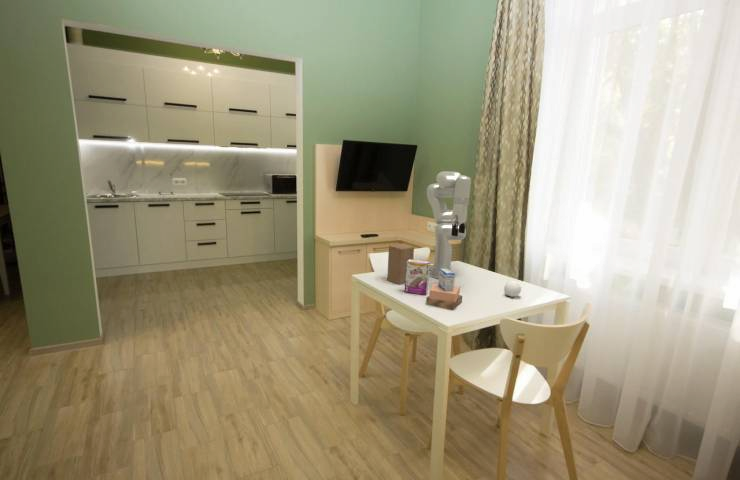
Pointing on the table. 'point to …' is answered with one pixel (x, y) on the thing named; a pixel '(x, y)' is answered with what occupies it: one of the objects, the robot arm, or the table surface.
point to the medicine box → (446, 279)
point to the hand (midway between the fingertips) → (458, 234)
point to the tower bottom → (444, 303)
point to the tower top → (444, 293)
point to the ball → (512, 288)
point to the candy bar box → (417, 277)
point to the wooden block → (398, 262)
